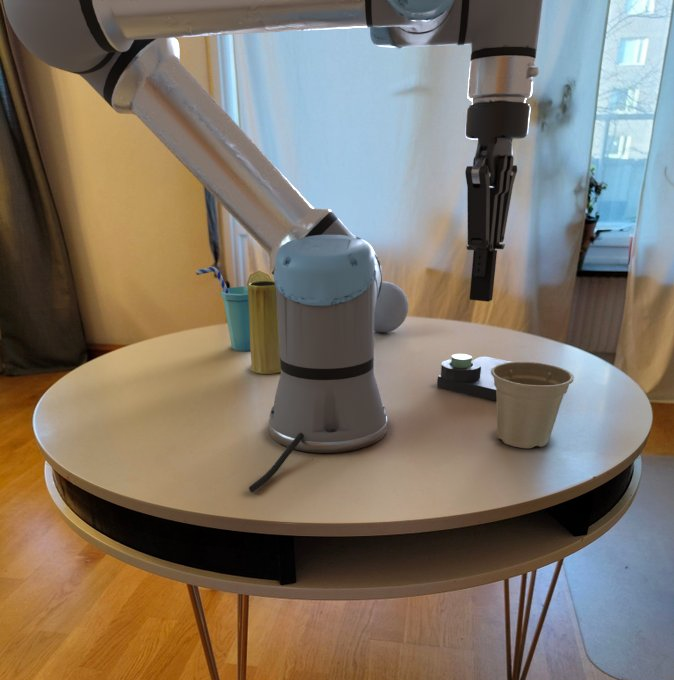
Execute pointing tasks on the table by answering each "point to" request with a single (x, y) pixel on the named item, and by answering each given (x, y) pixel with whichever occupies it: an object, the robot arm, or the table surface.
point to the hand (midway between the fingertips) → (480, 299)
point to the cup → (237, 308)
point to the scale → (471, 377)
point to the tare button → (461, 361)
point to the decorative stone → (390, 308)
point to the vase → (264, 327)
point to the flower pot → (528, 401)
